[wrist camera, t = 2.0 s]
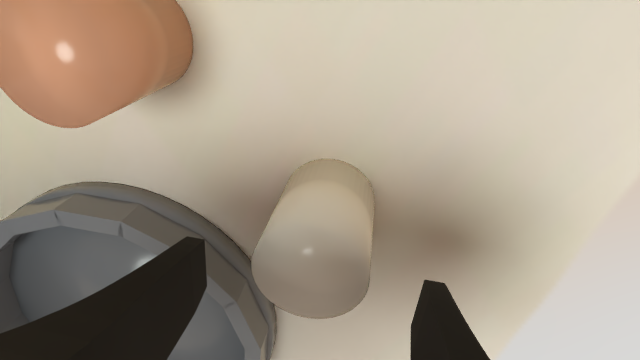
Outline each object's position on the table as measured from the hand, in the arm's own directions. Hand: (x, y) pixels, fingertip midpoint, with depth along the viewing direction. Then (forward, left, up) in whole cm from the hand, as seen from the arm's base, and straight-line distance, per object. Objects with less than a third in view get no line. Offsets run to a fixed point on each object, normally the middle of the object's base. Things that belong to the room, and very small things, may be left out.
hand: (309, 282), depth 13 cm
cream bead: (0, 0, -5) cm, 5 cm away
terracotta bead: (-8, +6, -5) cm, 11 cm away
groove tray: (-10, -9, -5) cm, 15 cm away
